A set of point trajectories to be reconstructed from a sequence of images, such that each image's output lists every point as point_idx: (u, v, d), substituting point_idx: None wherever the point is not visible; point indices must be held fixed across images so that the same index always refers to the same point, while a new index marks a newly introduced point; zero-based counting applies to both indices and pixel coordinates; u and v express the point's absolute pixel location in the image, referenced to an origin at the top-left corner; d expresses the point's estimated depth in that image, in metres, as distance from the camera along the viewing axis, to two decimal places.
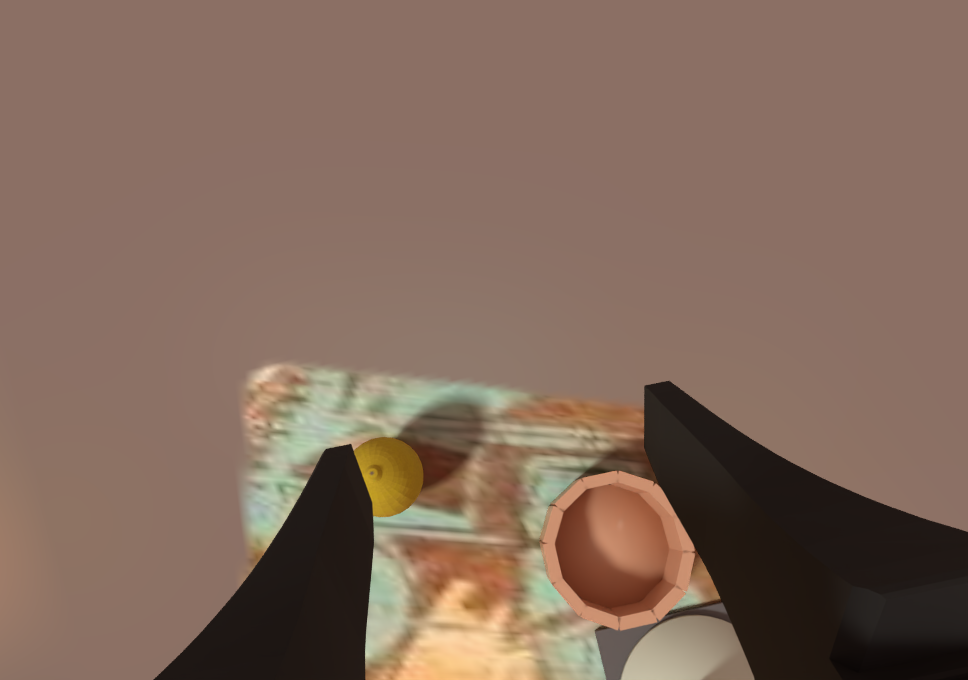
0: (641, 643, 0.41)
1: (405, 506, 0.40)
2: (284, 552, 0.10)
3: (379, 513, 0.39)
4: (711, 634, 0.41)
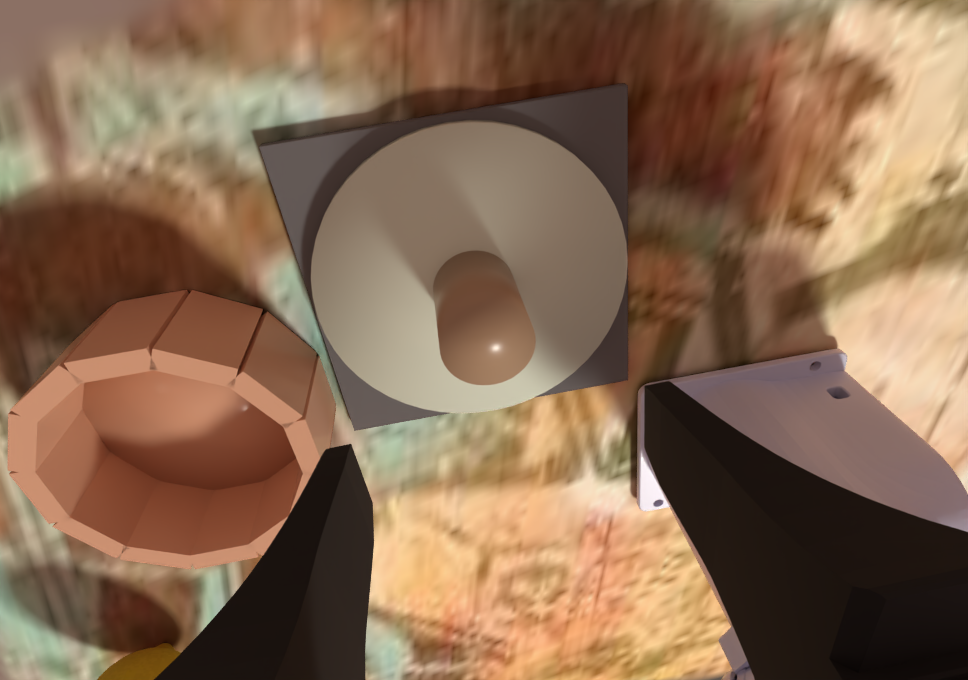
0: (366, 379, 0.23)
1: None
2: (284, 552, 0.10)
3: None
4: (343, 263, 0.20)
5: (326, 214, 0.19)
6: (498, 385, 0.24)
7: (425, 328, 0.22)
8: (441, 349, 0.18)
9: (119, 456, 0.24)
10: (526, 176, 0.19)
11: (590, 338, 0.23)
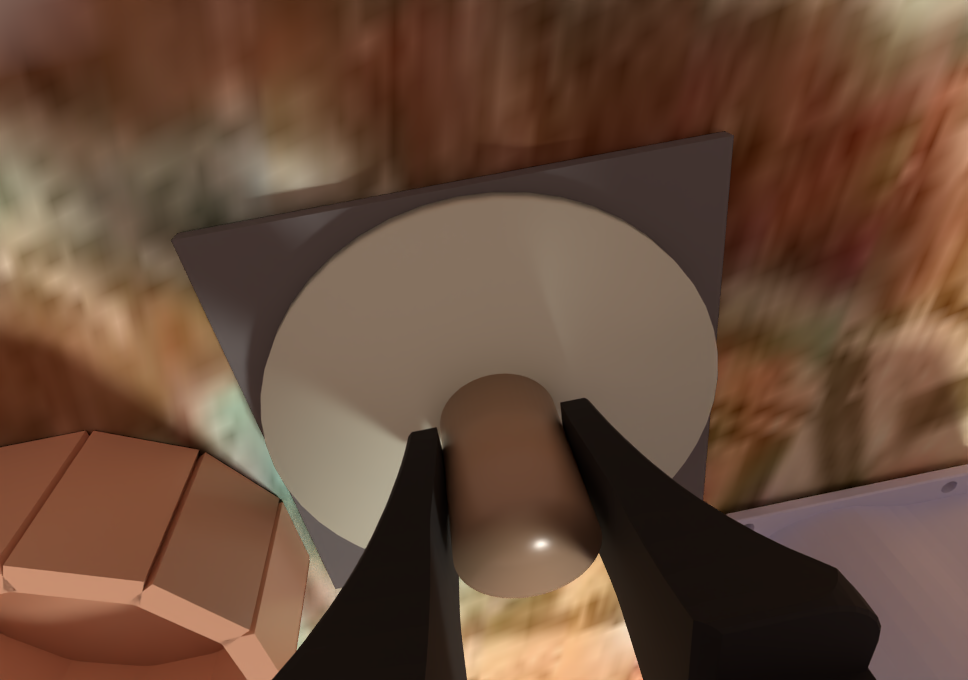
0: (349, 537, 0.16)
1: None
2: (395, 529, 0.10)
3: None
4: (308, 399, 0.14)
5: (278, 335, 0.13)
6: None
7: None
8: (456, 560, 0.11)
9: (14, 636, 0.18)
10: (578, 272, 0.13)
11: None
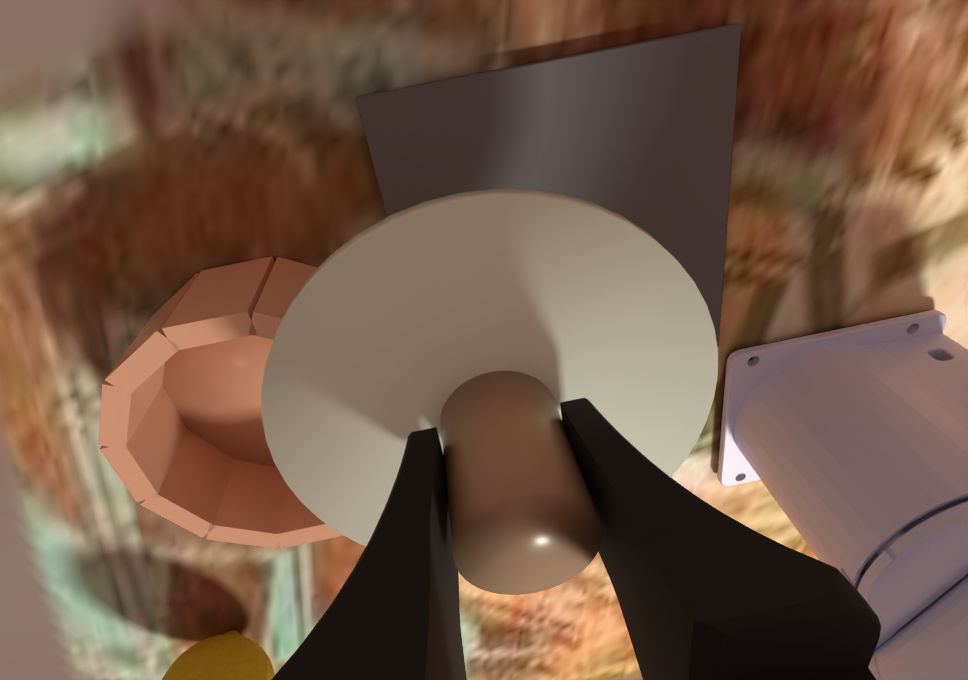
0: (348, 534, 0.16)
1: None
2: (395, 529, 0.10)
3: None
4: (309, 395, 0.14)
5: (279, 331, 0.13)
6: None
7: None
8: (456, 556, 0.11)
9: (197, 434, 0.23)
10: (579, 270, 0.13)
11: None
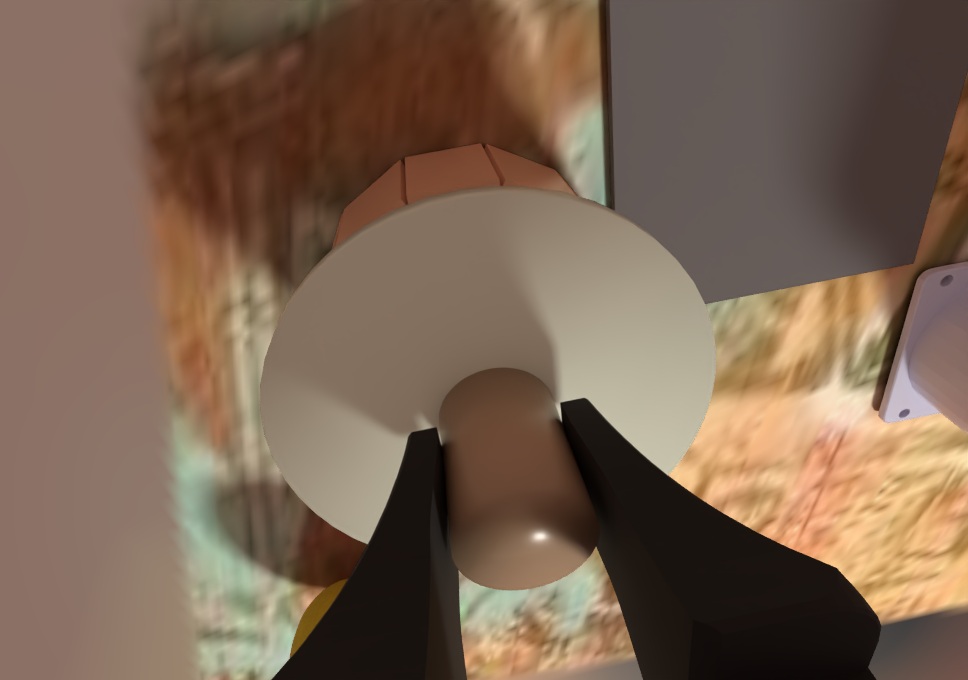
0: (345, 529, 0.16)
1: None
2: (395, 529, 0.10)
3: None
4: (308, 389, 0.14)
5: (280, 325, 0.13)
6: None
7: None
8: (454, 551, 0.11)
9: None
10: (580, 267, 0.13)
11: None
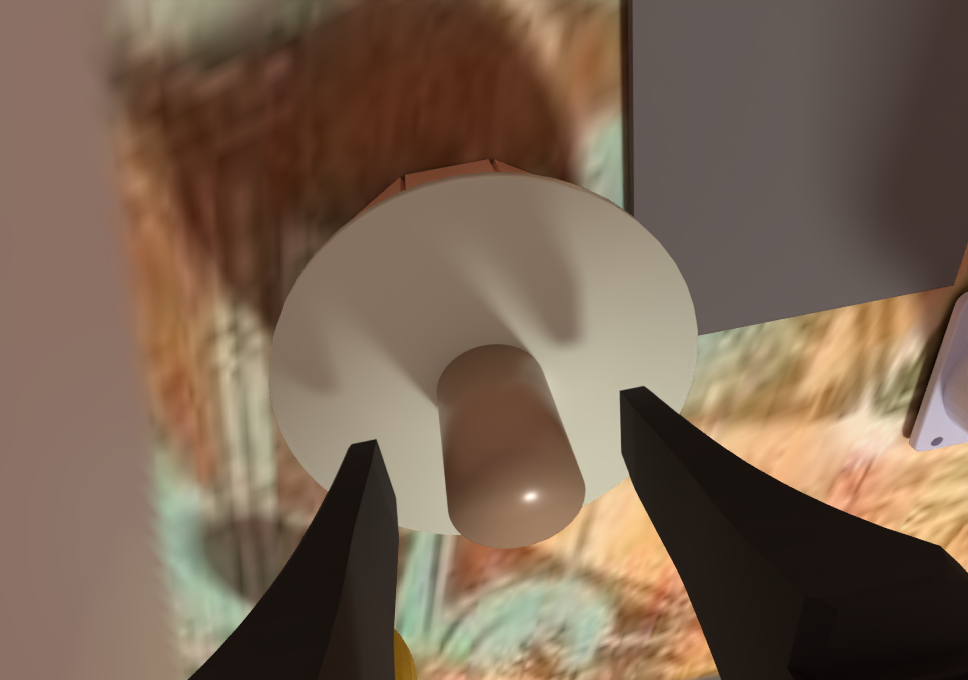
0: None
1: None
2: (317, 545, 0.10)
3: None
4: (313, 364, 0.15)
5: (288, 302, 0.14)
6: None
7: (425, 439, 0.16)
8: (450, 509, 0.12)
9: None
10: (568, 249, 0.14)
11: None
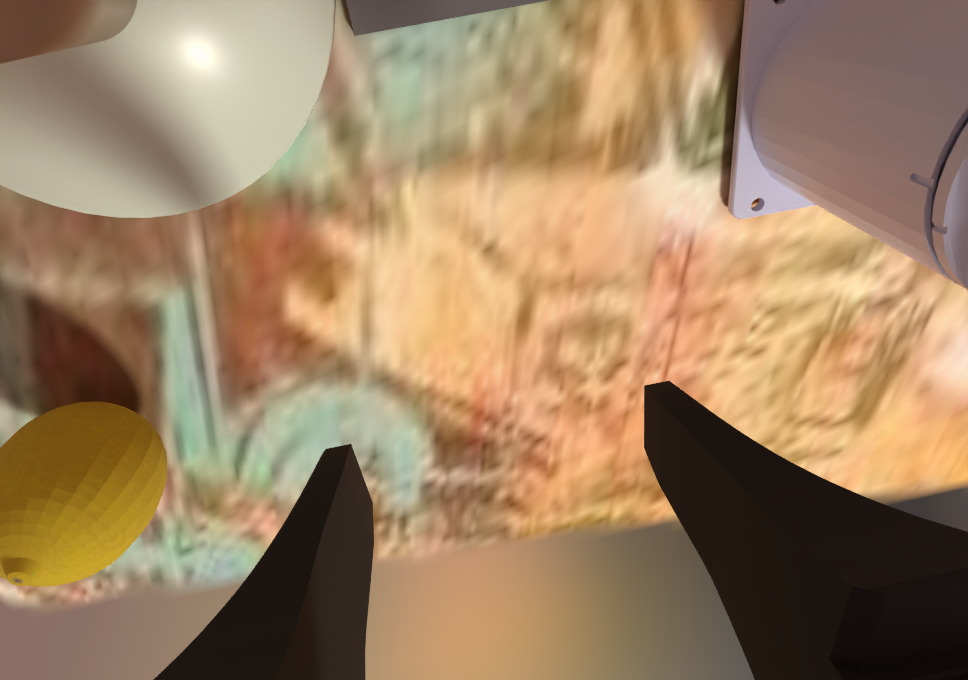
0: None
1: (115, 465, 0.20)
2: (284, 552, 0.10)
3: (133, 513, 0.20)
4: None
5: None
6: (168, 168, 0.15)
7: None
8: None
9: None
10: None
11: (297, 86, 0.15)
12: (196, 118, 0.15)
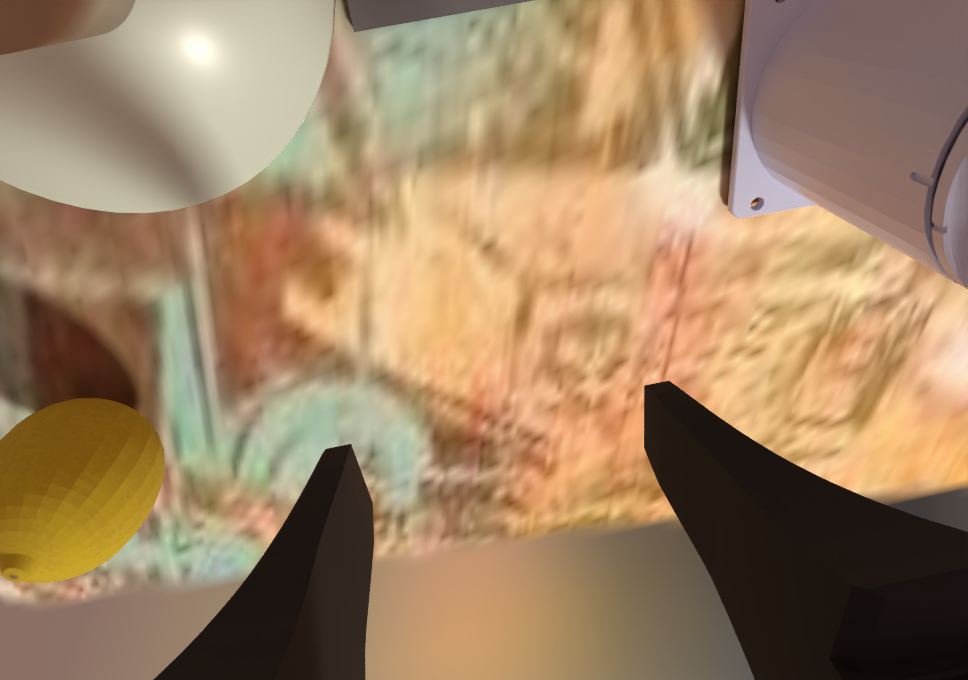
0: None
1: (112, 461, 0.20)
2: (284, 552, 0.10)
3: (130, 509, 0.20)
4: None
5: None
6: (166, 163, 0.15)
7: None
8: None
9: None
10: None
11: (296, 82, 0.15)
12: (195, 113, 0.15)
